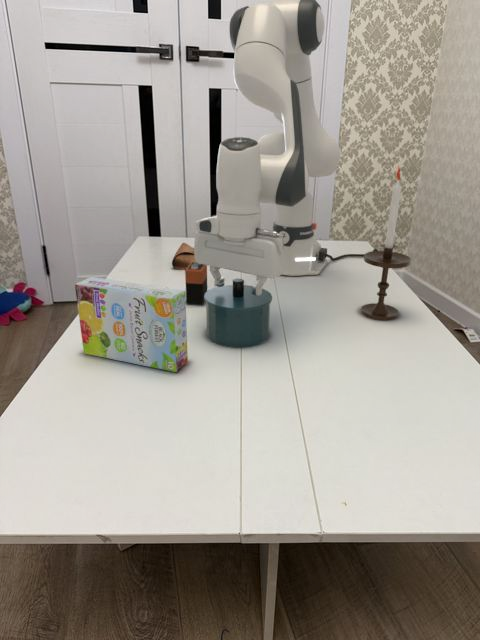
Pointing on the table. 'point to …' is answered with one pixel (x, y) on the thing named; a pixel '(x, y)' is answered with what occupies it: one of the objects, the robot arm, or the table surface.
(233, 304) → the lid
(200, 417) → the table surface
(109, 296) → the snack box
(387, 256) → the candlestick
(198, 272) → the battery
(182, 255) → the sunglasses case
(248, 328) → the pot
